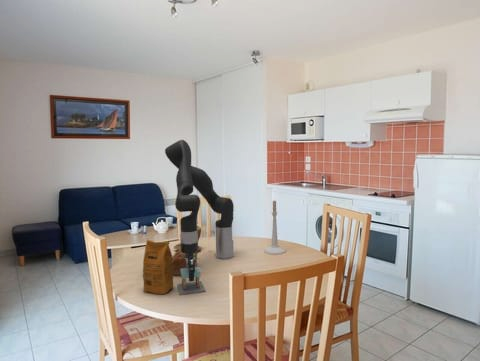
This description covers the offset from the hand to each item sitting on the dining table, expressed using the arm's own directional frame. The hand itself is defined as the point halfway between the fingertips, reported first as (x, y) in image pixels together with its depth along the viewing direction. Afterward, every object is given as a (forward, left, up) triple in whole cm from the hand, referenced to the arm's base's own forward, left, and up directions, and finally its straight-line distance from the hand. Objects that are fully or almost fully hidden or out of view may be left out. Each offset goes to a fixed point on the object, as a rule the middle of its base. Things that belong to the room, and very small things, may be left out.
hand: (190, 277), depth 156 cm
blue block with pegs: (0, 0, -4) cm, 4 cm away
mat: (0, 0, -5) cm, 5 cm away
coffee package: (+14, -3, -5) cm, 15 cm away
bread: (0, -24, -5) cm, 25 cm away
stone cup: (-7, -56, -5) cm, 57 cm away
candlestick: (-54, -38, -5) cm, 66 cm away
